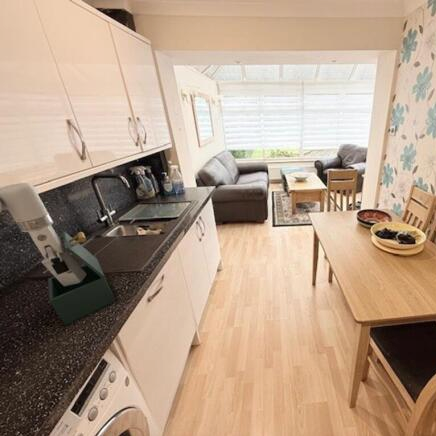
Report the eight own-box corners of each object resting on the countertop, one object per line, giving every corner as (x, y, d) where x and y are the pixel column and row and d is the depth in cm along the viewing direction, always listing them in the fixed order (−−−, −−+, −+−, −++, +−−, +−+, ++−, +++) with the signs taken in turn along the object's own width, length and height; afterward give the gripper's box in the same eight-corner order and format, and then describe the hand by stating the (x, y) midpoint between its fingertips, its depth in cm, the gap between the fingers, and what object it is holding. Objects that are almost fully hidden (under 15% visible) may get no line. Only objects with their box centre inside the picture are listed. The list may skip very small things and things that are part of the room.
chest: (65, 325, 81) (49, 301, 76) (62, 300, 92) (47, 278, 88) (115, 300, 90) (104, 278, 86) (107, 281, 101) (96, 260, 97)
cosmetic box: (63, 287, 85) (39, 262, 78) (70, 277, 89) (47, 254, 82) (82, 282, 86) (59, 258, 79) (88, 273, 89) (66, 249, 83)
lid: (65, 248, 76) (82, 238, 78) (61, 232, 87) (76, 224, 89) (102, 278, 85) (116, 268, 87) (95, 260, 96) (107, 251, 99)
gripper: (52, 225, 72) (79, 273, 80) (50, 211, 84) (74, 254, 91) (17, 235, 67) (49, 284, 75) (20, 219, 79) (47, 263, 87)
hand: (62, 267), depth 83 cm, fingers closed on cosmetic box, 6 cm apart
